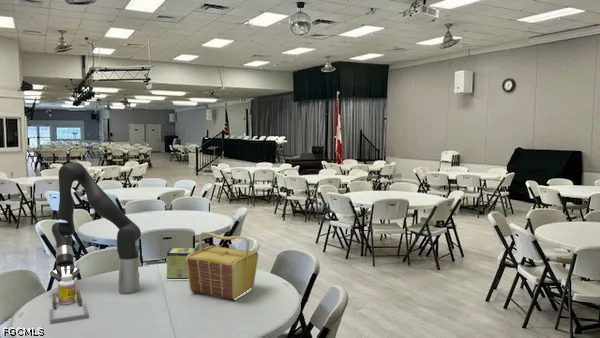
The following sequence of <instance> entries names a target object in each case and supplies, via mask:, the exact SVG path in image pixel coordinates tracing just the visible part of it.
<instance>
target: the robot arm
mask: <svg viewBox="0 0 600 338" xmlns="http://www.w3.org/2000/svg"><path fill="white" fill-rule="evenodd" d="M73 182H77V183H79V184H80V186H81V187H82V188H83V190H84V191H85V195H86V199H87V202H88V204H89V205H90V207H91V208H92V209H93V210H94V211H95V212H96V213H97V214H98V215H99V216H100V217H102V218H103V219H105V220H107V221H109V222H110V223H112V224H114V226H115V227H116V228H117V229H118V231H117V235H116V248H117V249H116V251H117V254H118V292H119V293H120V294H124V295H125V294H134V293H136V292H137V293H138V292H140V272H139V250H137V249H136V242H137V241H139V240H140V239H141V236H142V232H141V229H140V227H139V226H138V225H137V224H136V223H135V222H133V221H132V220H131V219H130V218H129V217H128V216H127V215H126V214H125V213H124V211H122V210H121V209H120V208H119V206H118V205H117V204H116V203H115V202H114V201H113V200H112V198H110V196H109V195H108V194H107V193H106V192H105V191H104V190H103V189H102V188H101V187H100V185H99V184H98V183H97V182H96V180H94V178H93V177H92V176H91V174H90V173H89V172H88V170H87V169H86V168H85V167H84V165H83V164H82V163H80V162H77V161H73V162H70V163H66V164H64V165H61V166H60V167H59V169H58V189H59V202H58V208H57V209H58V211H57V219H59V220H60V221H61V222H60V221H59V222H54V223H53V224H52V226H51V233H52V236H53V237H54V239H55V244H56V245H55V247H56V248H55V249H56V252H55V259H56V261H55V262H56V264H55V265H56V267H55V270H51V272H50V275H51V277H53V278H54V279H55V281H57V282H58V283H59V282H60V281H62V279H61V276H62V275H64V274H72V275H73V278H72V280H75V278H77V276H78V275H79V273H80V267H79V268H77V267H75V265H74V264H75V262H74V251H73V241H72V238H71V237H70V236H73V235H74V234H75V231H76V228H75V227H76V226H75V223H74V212H75V201H74V200H75V199H74V197H73V195H72V186H73ZM63 221H65V222H63Z"/></svg>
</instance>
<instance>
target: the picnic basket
mask: <svg viewBox="0 0 600 338" xmlns="http://www.w3.org/2000/svg"><path fill="white" fill-rule="evenodd" d="M203 235H211V237H213V238H216V239H218V240H219V239H220V240H225V241H226V240H227V241H230V240H235V239H242V240H245V242H246V245H245V246H246V247H245V250H244V249H235V248H229V247H222V246H215V245H209V246H206V247H204V248H203V241H202V237H203ZM198 242H199V249H197V251H196V252H193V253H191V254H189V255H188V256H187V257H186V265H187V272H188V279H189V281H188V285H189V290H190V292H191V293H194V292H195V293H198V294H199V293H200V294H203V293H204V295H208V296H214V295H215V297H219V296H220V297H221V298H224V297H225V299H230V298H231V300H233V299H235V298H237V297H238V296H240V295H241V294H243V293H244V292H246V291H247V290H249V289H250V288H252V287H253V288H254V286H255V285H254V284H255V279H256V273H257V265H258V261H259V260H258V259H259V253H258V252H257V251H250V250H249V248H250V241H249V239H248V238H247V237H245V236H237V235H235V236H234V235H233V236H223V235H220V234H217V233H214V232H213V233H212V232H209V231H202V232H200V233H199V235H198ZM253 288H252V289H253Z"/></svg>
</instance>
